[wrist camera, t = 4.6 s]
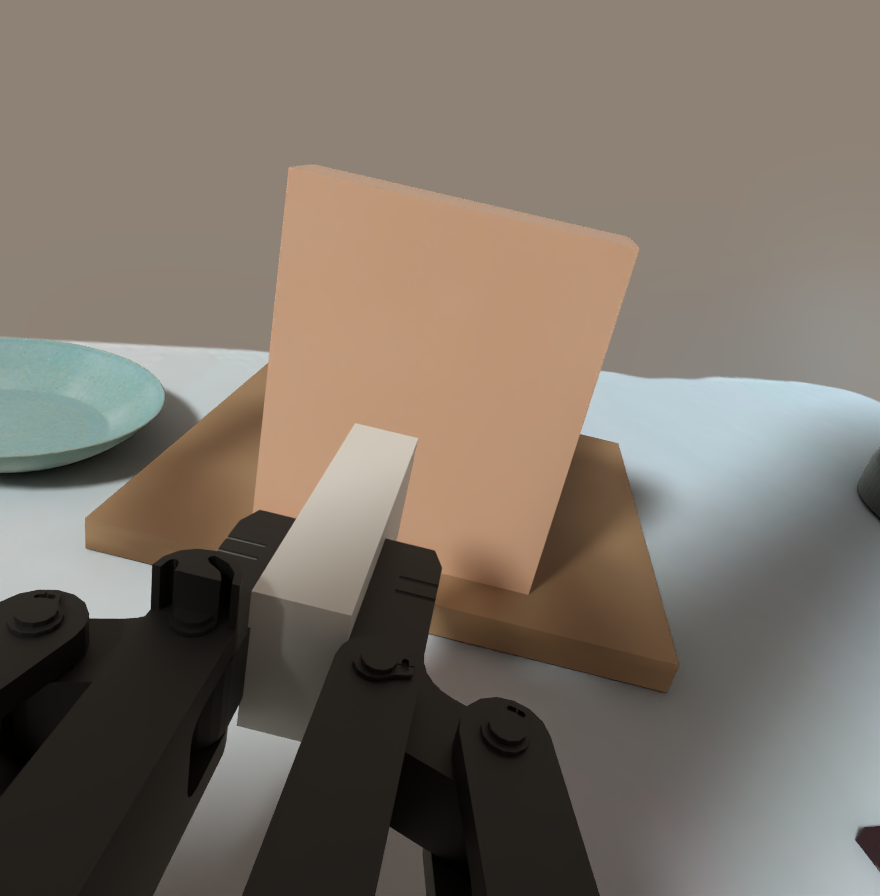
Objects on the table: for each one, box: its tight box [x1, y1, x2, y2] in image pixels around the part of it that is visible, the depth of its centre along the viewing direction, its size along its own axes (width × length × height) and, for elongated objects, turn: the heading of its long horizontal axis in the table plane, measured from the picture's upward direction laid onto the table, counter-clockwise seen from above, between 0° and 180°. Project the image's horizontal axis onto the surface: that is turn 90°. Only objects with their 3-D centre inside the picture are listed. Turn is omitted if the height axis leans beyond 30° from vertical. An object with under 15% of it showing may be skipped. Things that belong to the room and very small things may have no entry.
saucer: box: [0, 337, 165, 473], centre depth 29 cm, size 12×12×2 cm
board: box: [85, 364, 679, 693], centre depth 31 cm, size 20×18×1 cm
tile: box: [253, 164, 639, 595], centre depth 23 cm, size 10×3×12 cm, turn 83°
